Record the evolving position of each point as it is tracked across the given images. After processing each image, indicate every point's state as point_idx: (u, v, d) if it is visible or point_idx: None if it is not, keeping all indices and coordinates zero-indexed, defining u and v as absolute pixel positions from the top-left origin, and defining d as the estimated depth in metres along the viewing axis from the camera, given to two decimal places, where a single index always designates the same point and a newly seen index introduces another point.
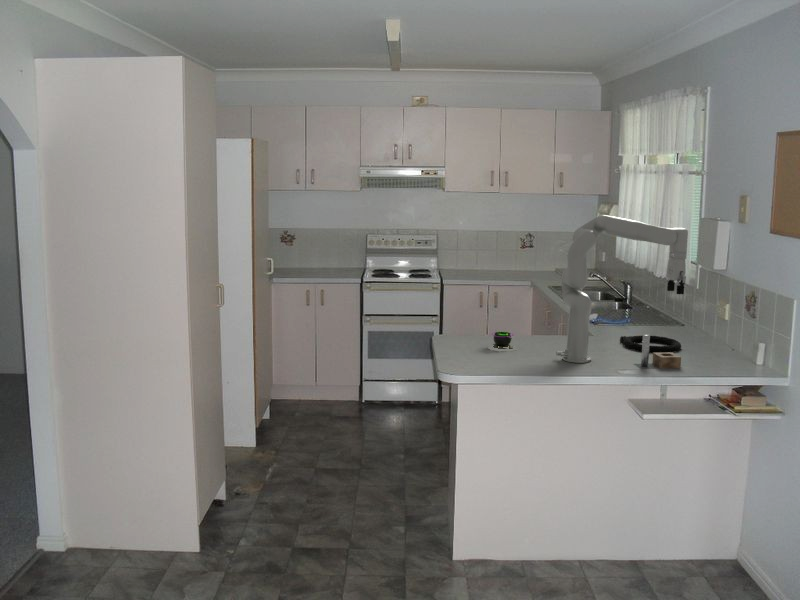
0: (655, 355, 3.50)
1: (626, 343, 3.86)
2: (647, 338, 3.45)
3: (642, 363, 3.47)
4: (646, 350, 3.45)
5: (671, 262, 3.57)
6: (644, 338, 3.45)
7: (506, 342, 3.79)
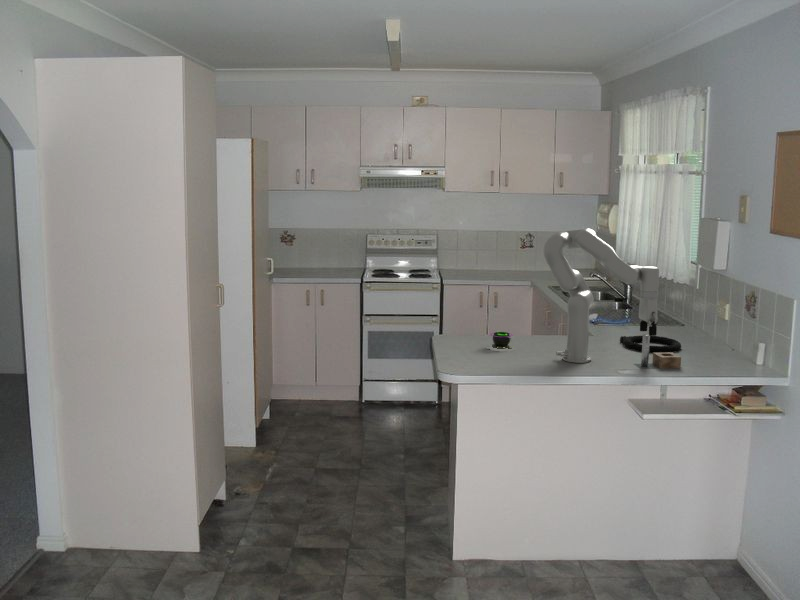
0: (655, 355, 3.50)
1: (626, 343, 3.86)
2: (647, 338, 3.45)
3: (642, 363, 3.47)
4: (646, 350, 3.45)
5: (642, 302, 3.43)
6: (644, 338, 3.45)
7: (505, 342, 3.79)
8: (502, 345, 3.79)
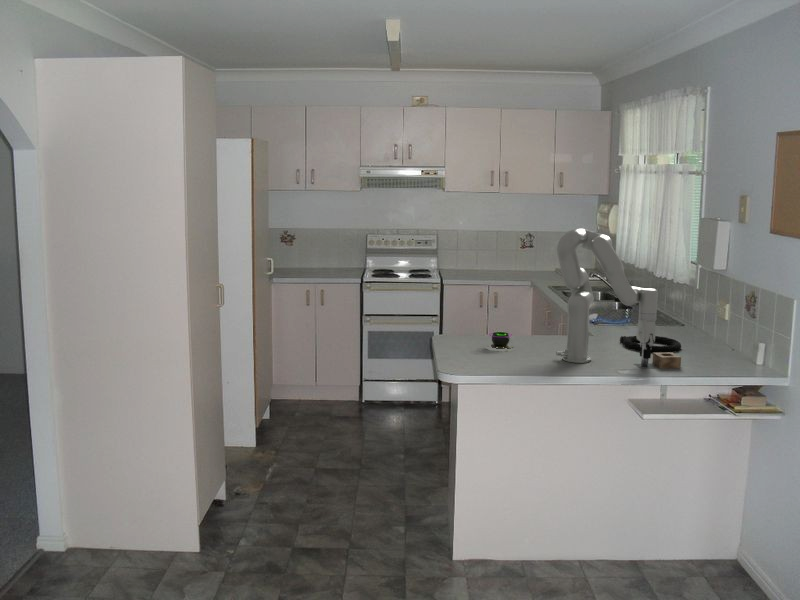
0: (655, 355, 3.50)
1: (626, 343, 3.86)
2: None
3: (642, 363, 3.47)
4: None
5: (641, 323, 3.45)
6: None
7: (504, 342, 3.78)
8: (501, 345, 3.79)
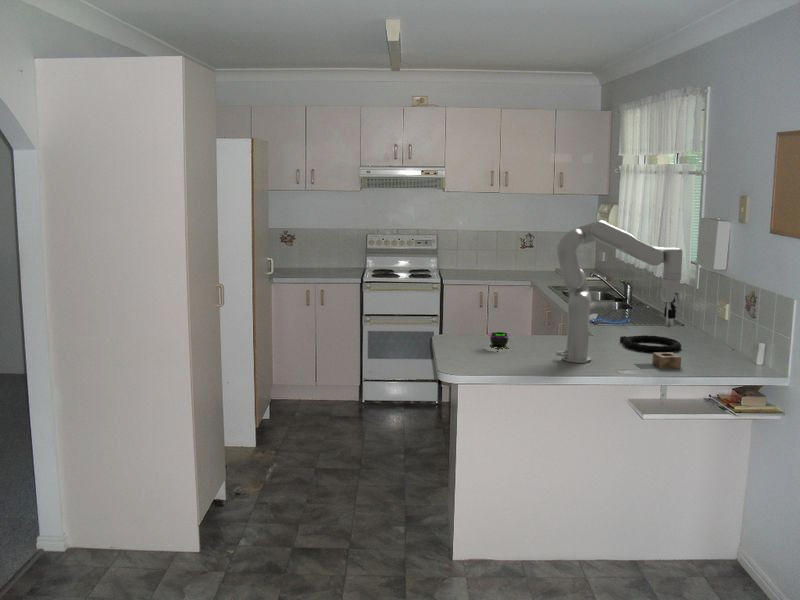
0: (655, 355, 3.50)
1: (626, 343, 3.86)
2: None
3: (667, 323, 3.45)
4: None
5: (665, 283, 3.43)
6: None
7: (503, 342, 3.78)
8: (500, 345, 3.79)
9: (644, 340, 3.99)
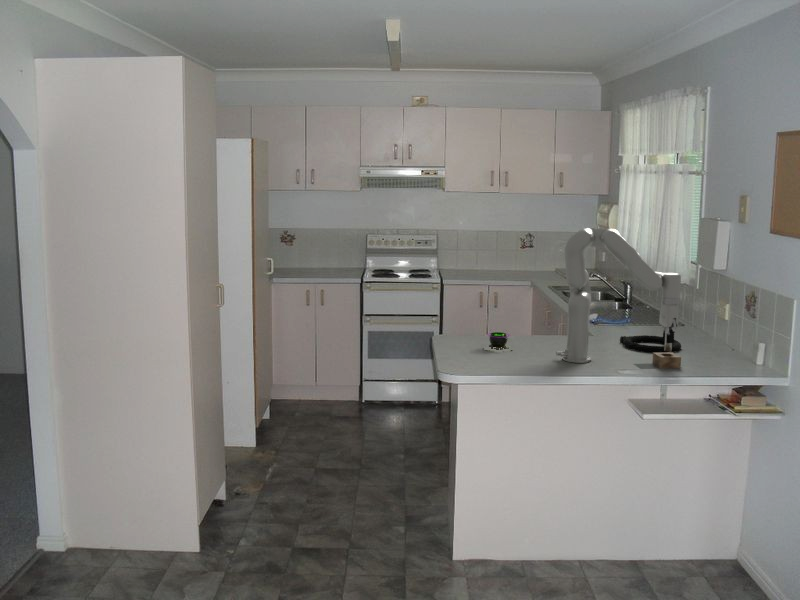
0: (655, 355, 3.50)
1: (626, 343, 3.86)
2: None
3: (665, 348, 3.47)
4: None
5: (664, 308, 3.44)
6: None
7: (502, 343, 3.78)
8: (499, 345, 3.78)
9: (644, 340, 3.99)
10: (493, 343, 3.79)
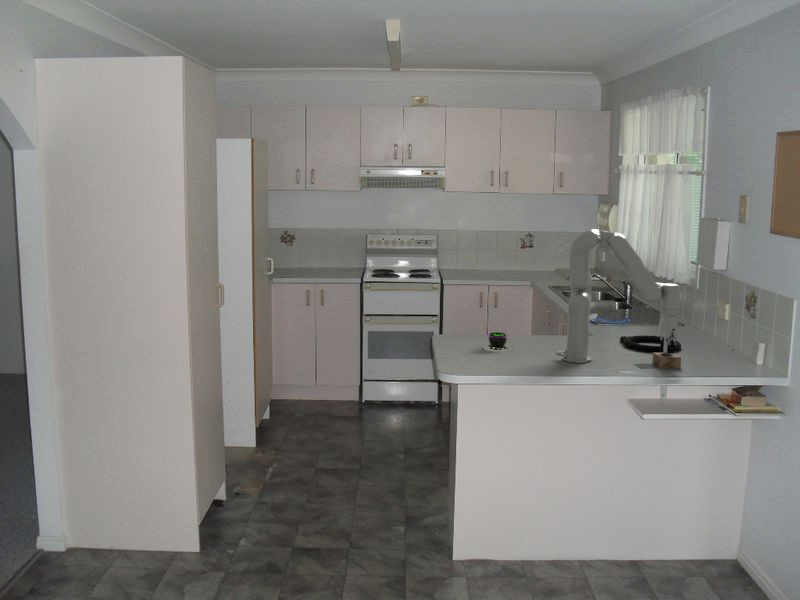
0: (655, 355, 3.50)
1: (626, 343, 3.86)
2: None
3: None
4: None
5: (663, 318, 3.45)
6: None
7: (501, 343, 3.77)
8: (498, 346, 3.78)
9: (644, 340, 3.99)
10: (492, 343, 3.78)
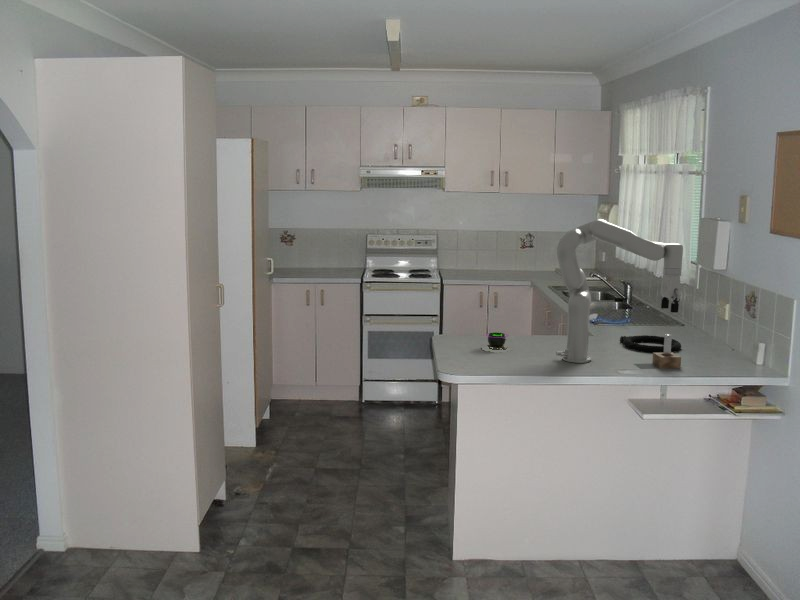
0: (655, 355, 3.50)
1: (626, 343, 3.86)
2: (669, 338, 3.45)
3: None
4: (668, 350, 3.46)
5: (665, 278, 3.42)
6: (666, 338, 3.46)
7: (500, 343, 3.77)
8: (497, 346, 3.78)
9: (644, 340, 3.99)
10: (491, 343, 3.78)
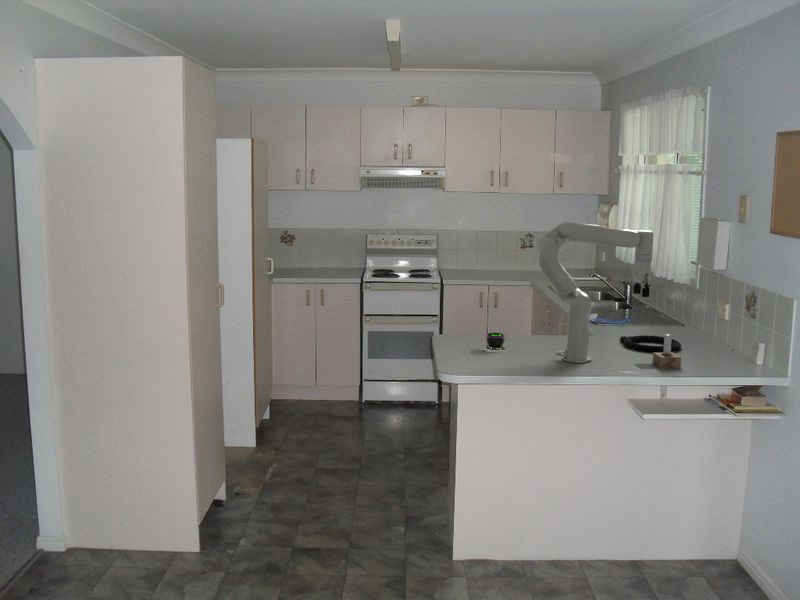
0: (655, 355, 3.50)
1: (626, 343, 3.86)
2: (669, 338, 3.45)
3: None
4: (668, 350, 3.46)
5: (637, 264, 3.54)
6: (666, 338, 3.46)
7: (499, 343, 3.77)
8: (496, 346, 3.78)
9: (644, 340, 3.99)
10: (490, 343, 3.78)
